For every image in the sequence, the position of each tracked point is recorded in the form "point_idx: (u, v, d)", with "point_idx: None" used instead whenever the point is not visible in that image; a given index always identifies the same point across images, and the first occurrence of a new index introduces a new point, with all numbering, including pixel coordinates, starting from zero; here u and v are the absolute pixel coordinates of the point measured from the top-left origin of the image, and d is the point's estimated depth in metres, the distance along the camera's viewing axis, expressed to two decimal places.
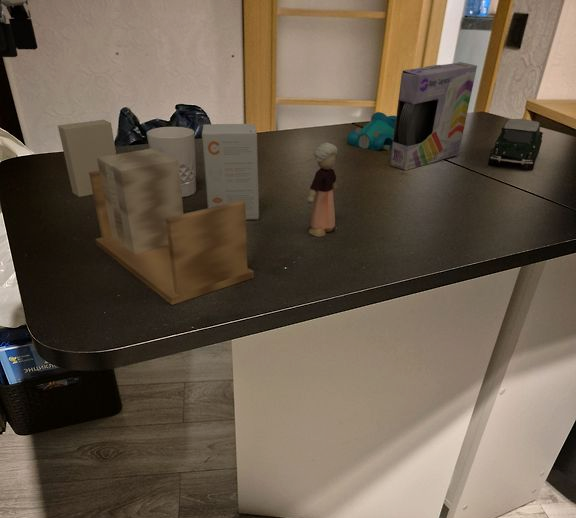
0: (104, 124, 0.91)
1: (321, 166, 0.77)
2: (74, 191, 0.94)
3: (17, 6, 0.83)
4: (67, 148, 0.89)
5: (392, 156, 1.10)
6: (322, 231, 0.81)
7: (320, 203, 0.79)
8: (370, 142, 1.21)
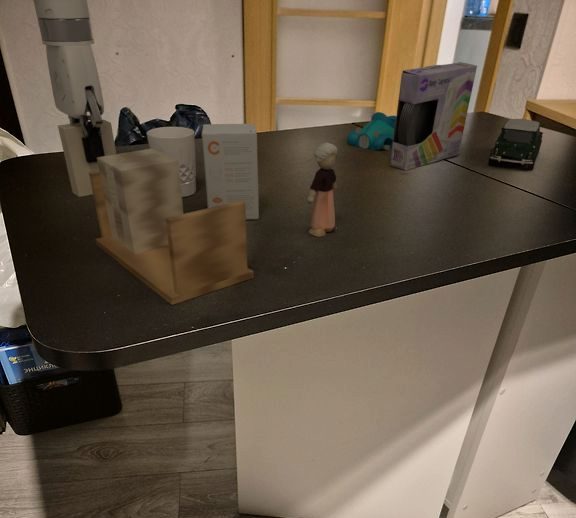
0: (104, 124, 0.91)
1: (321, 166, 0.77)
2: (74, 191, 0.94)
3: (77, 121, 0.92)
4: (67, 148, 0.89)
5: (392, 156, 1.10)
6: (322, 231, 0.81)
7: (320, 203, 0.79)
8: (370, 142, 1.21)
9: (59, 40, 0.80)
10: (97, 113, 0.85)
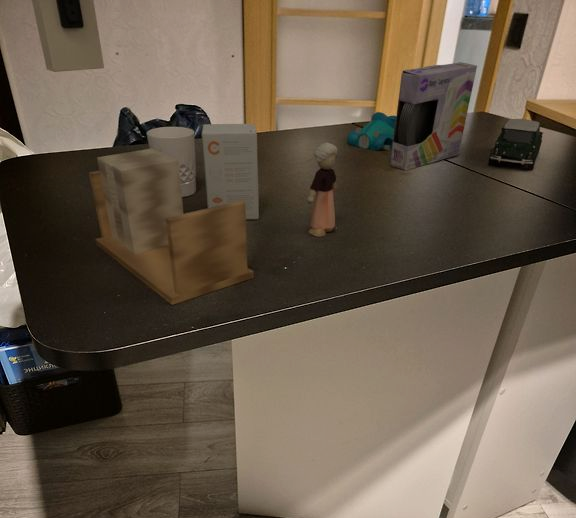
0: None
1: (321, 166, 0.77)
2: (48, 66, 0.82)
3: None
4: (39, 7, 0.76)
5: (392, 156, 1.10)
6: (322, 231, 0.81)
7: (320, 203, 0.79)
8: (370, 142, 1.21)
9: None
10: None
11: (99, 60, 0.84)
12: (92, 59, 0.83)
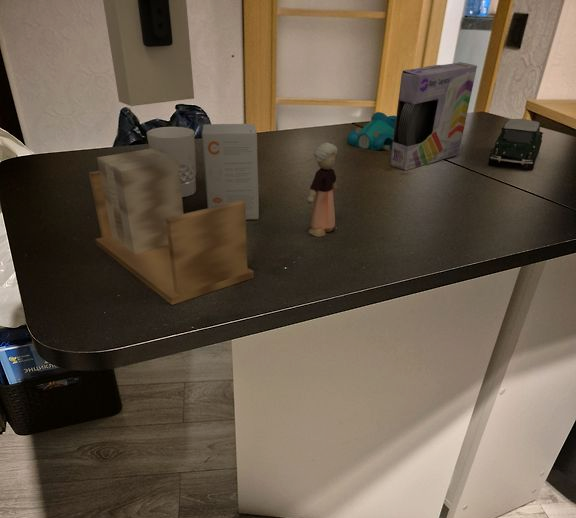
0: None
1: (321, 166, 0.77)
2: (122, 98, 0.59)
3: None
4: (116, 18, 0.54)
5: (392, 156, 1.10)
6: (322, 231, 0.81)
7: (320, 203, 0.79)
8: (370, 142, 1.21)
9: None
10: None
11: (189, 88, 0.62)
12: (180, 87, 0.61)
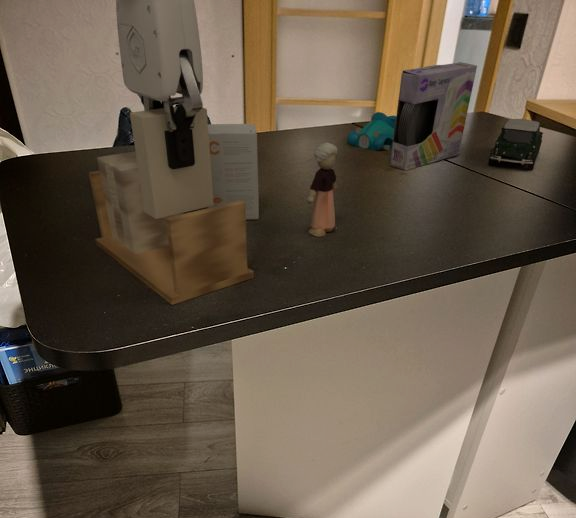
0: None
1: (321, 166, 0.77)
2: (148, 210, 0.64)
3: (155, 107, 0.61)
4: (144, 147, 0.59)
5: (392, 156, 1.10)
6: (322, 231, 0.81)
7: (320, 203, 0.79)
8: (370, 142, 1.21)
9: None
10: (195, 93, 0.55)
11: (208, 197, 0.67)
12: (201, 198, 0.66)
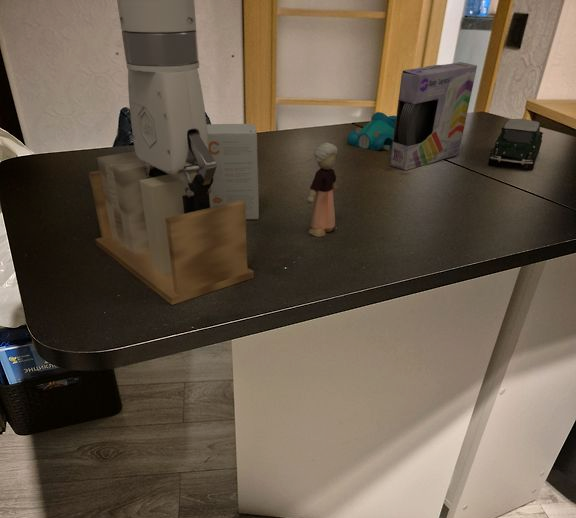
0: None
1: (321, 166, 0.77)
2: (155, 266, 0.69)
3: None
4: (153, 212, 0.63)
5: (392, 156, 1.10)
6: (322, 231, 0.81)
7: (320, 203, 0.79)
8: (370, 142, 1.21)
9: (155, 64, 0.54)
10: (207, 155, 0.57)
11: None
12: None
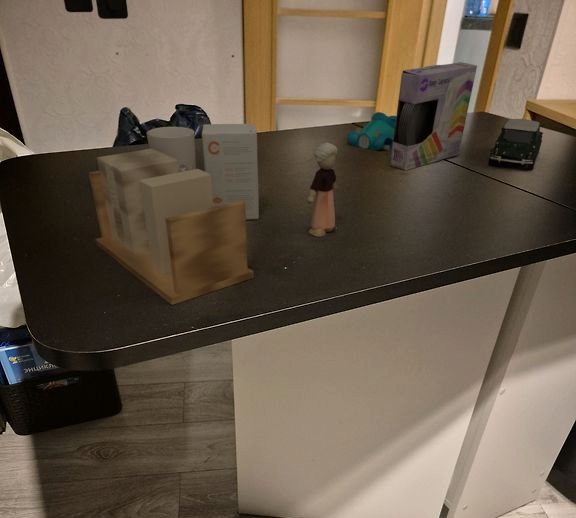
0: (202, 177, 0.65)
1: (321, 166, 0.77)
2: (155, 266, 0.69)
3: None
4: (153, 212, 0.63)
5: (392, 156, 1.10)
6: (322, 231, 0.81)
7: (320, 203, 0.79)
8: (370, 142, 1.21)
9: None
10: None
11: None
12: None
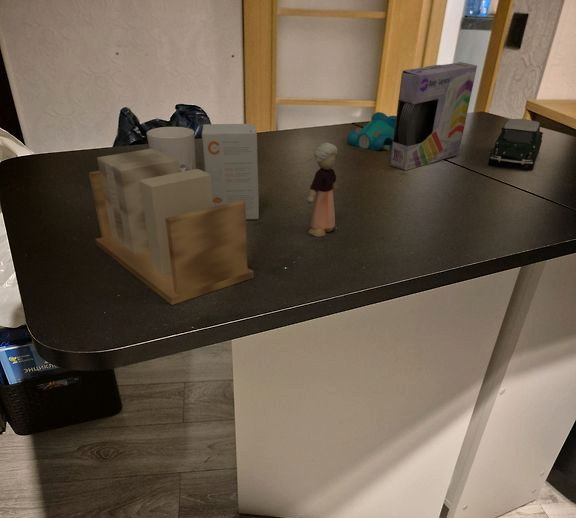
0: (202, 177, 0.65)
1: (321, 166, 0.77)
2: (155, 266, 0.69)
3: None
4: (153, 212, 0.63)
5: (392, 156, 1.10)
6: (322, 231, 0.81)
7: (320, 203, 0.79)
8: (370, 142, 1.21)
9: None
10: None
11: None
12: None
